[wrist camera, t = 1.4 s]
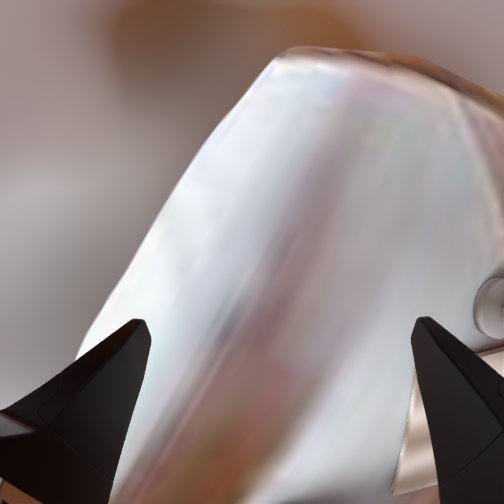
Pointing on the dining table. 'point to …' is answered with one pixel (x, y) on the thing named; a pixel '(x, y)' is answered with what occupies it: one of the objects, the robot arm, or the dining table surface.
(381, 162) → the dining table surface
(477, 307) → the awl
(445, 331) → the robot arm
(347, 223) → the dining table surface
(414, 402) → the cream and grey cloth
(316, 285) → the dining table surface
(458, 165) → the dining table surface
